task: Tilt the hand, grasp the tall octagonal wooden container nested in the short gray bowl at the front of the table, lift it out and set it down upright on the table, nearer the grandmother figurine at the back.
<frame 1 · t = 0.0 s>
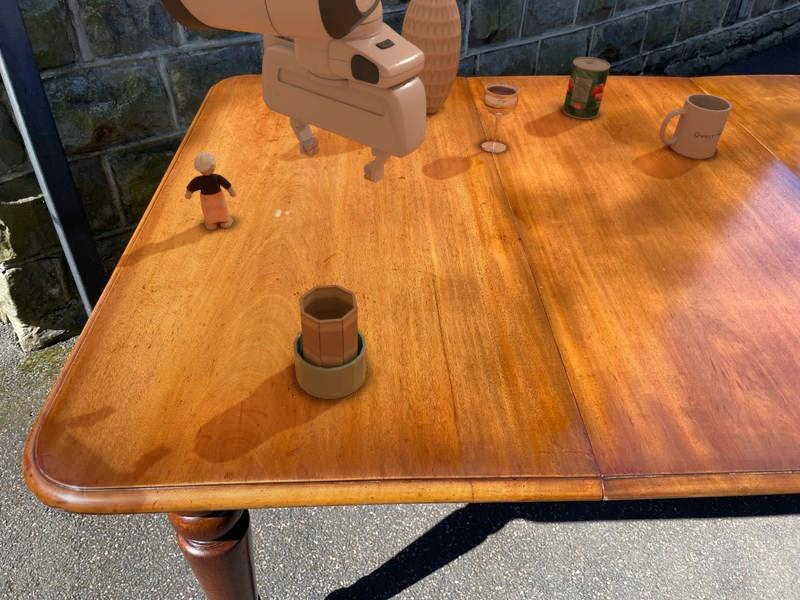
hand: (340, 166, 73), 23 cm above the table, tool pointing down, fingers open, 8 cm apart
wineglass: (493, 147, 129), on the table
mug: (682, 148, 132), on the table
grandmother figurine: (215, 225, 103), on the table
octagonal wooden container: (331, 370, 79), resting on gray bowl
canned tomato: (580, 112, 144), on the table
gray bowl: (331, 372, 79), on the table, touching octagonal wooden container
vase: (426, 108, 142), on the table
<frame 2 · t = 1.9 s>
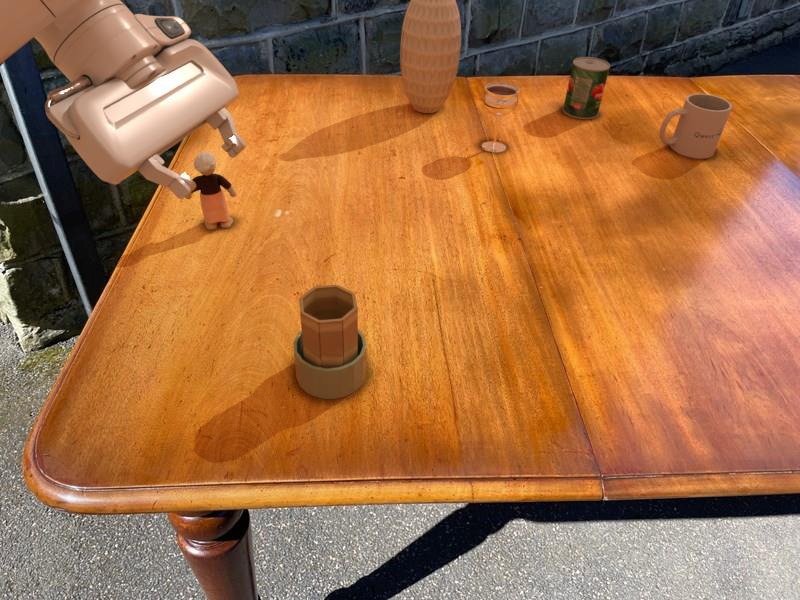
hand: (216, 171, 66), 25 cm above the table, tool tilted 45°, fingers open, 8 cm apart
nothing on the table moved.
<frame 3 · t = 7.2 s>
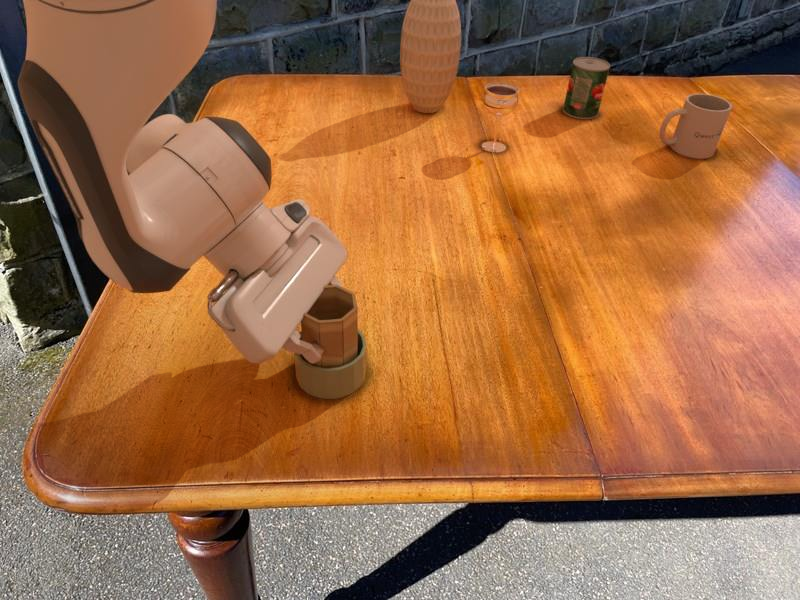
hand: (334, 335, 75), 7 cm above the table, tool tilted 45°, fingers closed on octagonal wooden container, 7 cm apart
octagonal wooden container: (330, 370, 79), resting on gray bowl, touching gripper
everything else where it was.
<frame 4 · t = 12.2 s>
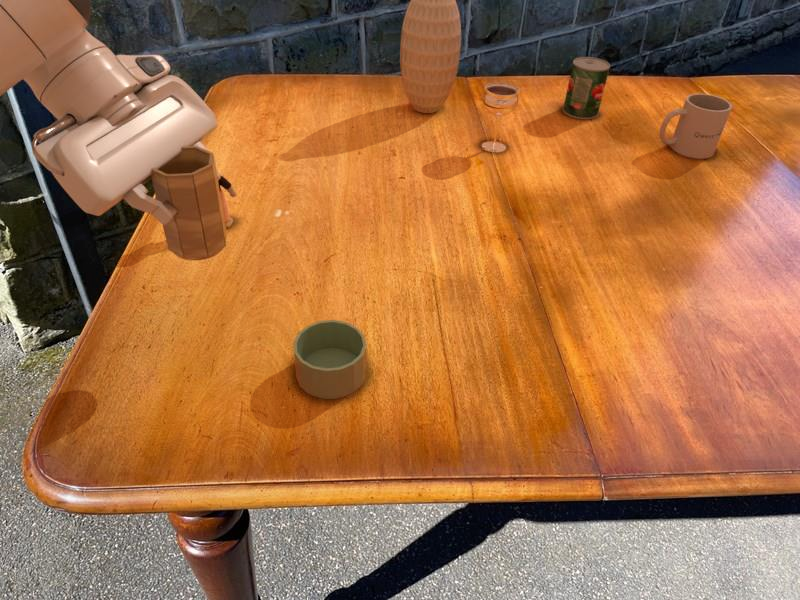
hand: (194, 200, 70), 21 cm above the table, tool tilted 45°, fingers closed on octagonal wooden container, 7 cm apart
octagonal wooden container: (198, 245, 74), point 14 cm above the table, touching gripper
gray bowl: (331, 372, 79), on the table
everything else where it was.
when the fingers open (6 cm above the table, at t = 17.7 s): octagonal wooden container stays where it is, on the table.
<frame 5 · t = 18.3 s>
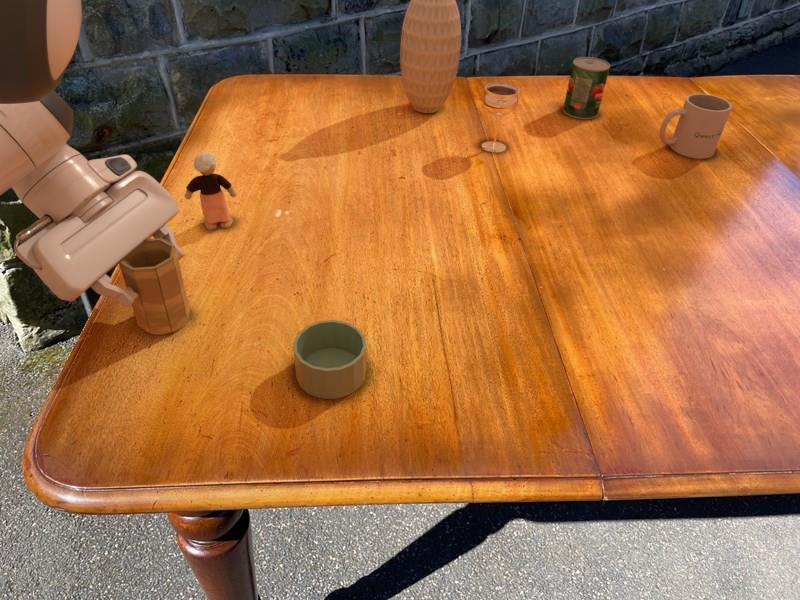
hand: (157, 280, 81), 7 cm above the table, tool tilted 45°, fingers open, 8 cm apart
octagonal wooden container: (164, 319, 85), on the table
everything else where it was.
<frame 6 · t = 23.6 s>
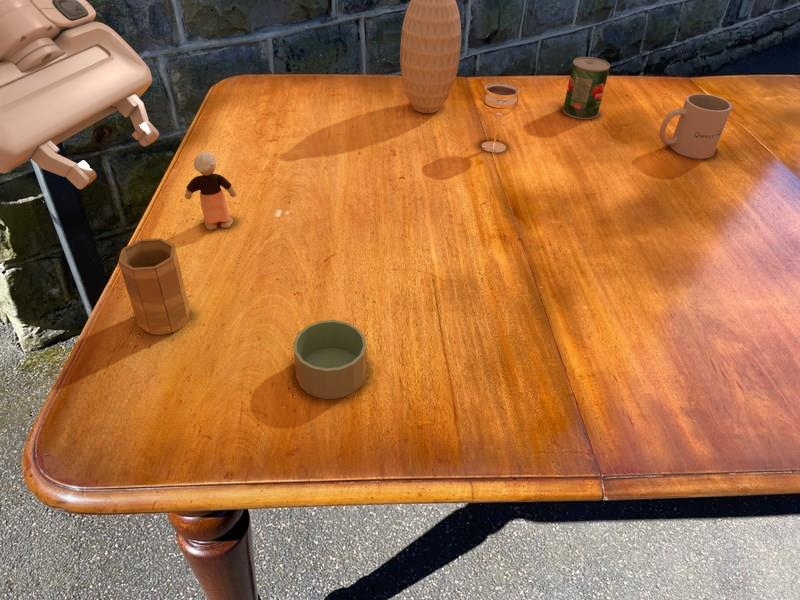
hand: (122, 161, 62), 27 cm above the table, tool tilted 45°, fingers open, 8 cm apart
nothing on the table moved.
at the end: octagonal wooden container inside the target area (0.0 cm from its centre), on the table; octagonal wooden container tilted 0°; octagonal wooden container 23.3 cm from the grandmother figurine (horizontally) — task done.
